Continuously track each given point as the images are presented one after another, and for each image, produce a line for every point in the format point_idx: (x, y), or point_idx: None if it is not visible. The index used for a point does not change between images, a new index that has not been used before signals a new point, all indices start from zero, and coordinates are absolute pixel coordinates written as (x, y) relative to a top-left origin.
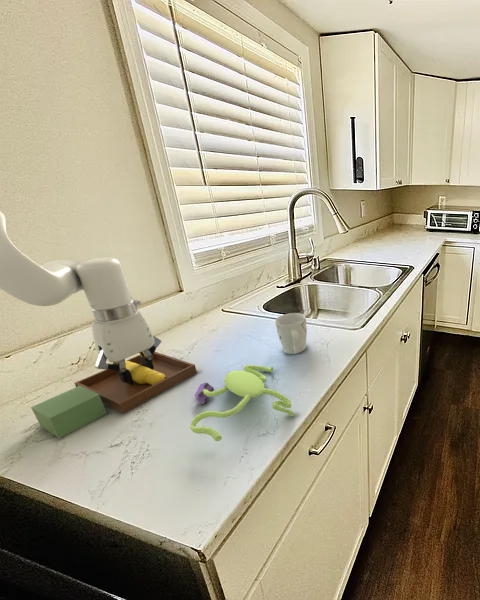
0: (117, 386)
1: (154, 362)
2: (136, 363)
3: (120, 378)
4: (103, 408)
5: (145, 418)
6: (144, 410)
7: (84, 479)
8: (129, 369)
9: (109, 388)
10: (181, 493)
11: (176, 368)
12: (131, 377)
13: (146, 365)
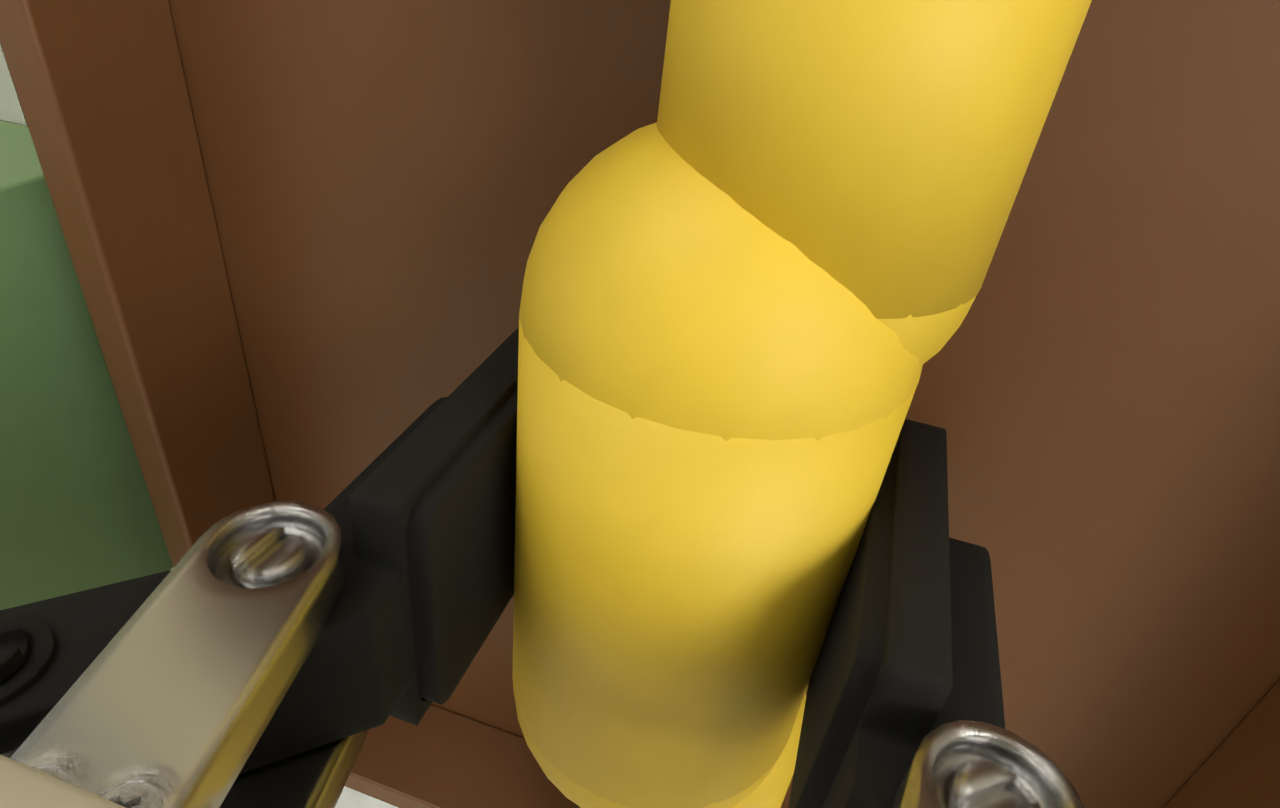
0: (464, 238)
1: None
2: (831, 472)
3: (417, 424)
4: (167, 562)
5: (372, 797)
6: None
7: None
8: (540, 563)
9: (378, 154)
10: None
11: (1144, 743)
12: (509, 585)
13: (808, 713)
